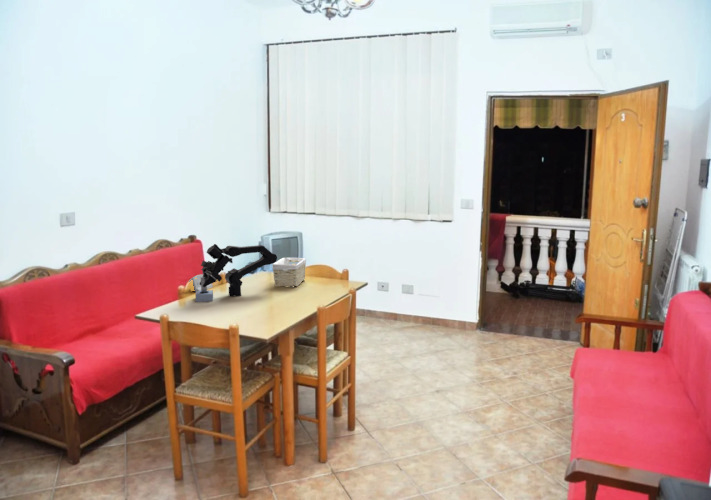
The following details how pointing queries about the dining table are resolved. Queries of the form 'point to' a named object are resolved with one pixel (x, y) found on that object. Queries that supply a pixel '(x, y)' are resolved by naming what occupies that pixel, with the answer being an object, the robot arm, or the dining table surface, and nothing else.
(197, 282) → the hinge
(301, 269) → the storage basket
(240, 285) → the robot arm
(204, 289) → the peg
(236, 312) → the dining table surface
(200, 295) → the hole block
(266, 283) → the dining table surface
